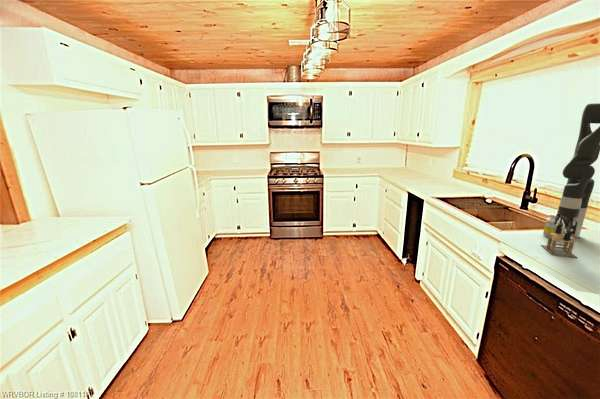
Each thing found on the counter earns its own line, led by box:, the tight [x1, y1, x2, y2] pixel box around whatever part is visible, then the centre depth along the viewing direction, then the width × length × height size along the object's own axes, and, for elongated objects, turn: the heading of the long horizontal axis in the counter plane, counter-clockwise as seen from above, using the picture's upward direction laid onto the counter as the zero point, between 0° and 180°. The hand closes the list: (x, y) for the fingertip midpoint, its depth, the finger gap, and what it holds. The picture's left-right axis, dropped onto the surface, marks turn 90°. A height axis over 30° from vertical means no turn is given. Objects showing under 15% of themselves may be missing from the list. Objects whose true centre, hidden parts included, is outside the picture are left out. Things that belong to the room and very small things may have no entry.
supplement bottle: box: [542, 212, 557, 238], centre depth 163 cm, size 7×7×13 cm
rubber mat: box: [540, 244, 578, 259], centre depth 145 cm, size 12×10×1 cm
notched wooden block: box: [546, 233, 576, 254], centre depth 144 cm, size 5×8×8 cm
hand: (561, 237), depth 143 cm, fingers open, 8 cm apart
